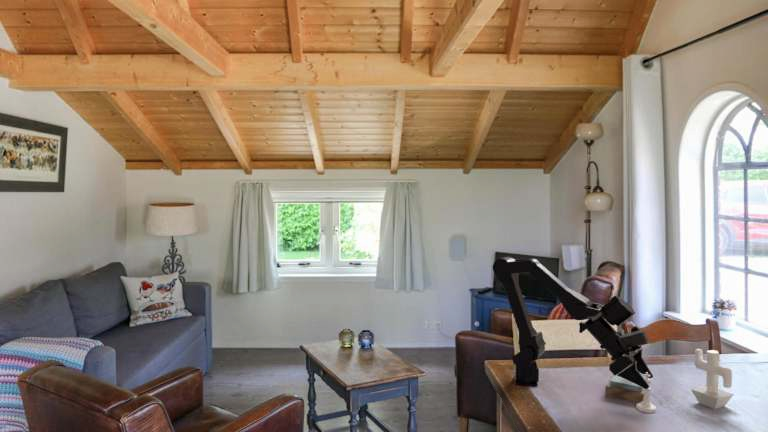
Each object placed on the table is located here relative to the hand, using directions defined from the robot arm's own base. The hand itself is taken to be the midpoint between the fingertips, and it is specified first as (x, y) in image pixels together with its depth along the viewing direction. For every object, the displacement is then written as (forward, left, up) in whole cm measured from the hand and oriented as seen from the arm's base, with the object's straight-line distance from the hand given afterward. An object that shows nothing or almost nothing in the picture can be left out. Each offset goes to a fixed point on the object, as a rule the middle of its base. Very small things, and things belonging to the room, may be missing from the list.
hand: (649, 382), depth 131 cm
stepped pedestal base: (-3, +9, -7) cm, 12 cm away
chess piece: (-1, 0, -7) cm, 7 cm away
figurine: (+18, +6, -7) cm, 21 cm away
